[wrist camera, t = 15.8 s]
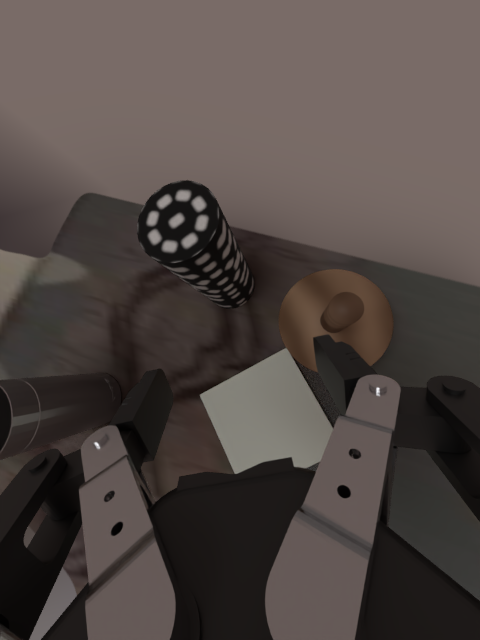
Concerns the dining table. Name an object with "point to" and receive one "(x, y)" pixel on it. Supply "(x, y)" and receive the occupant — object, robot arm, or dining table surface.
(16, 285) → the dining table surface
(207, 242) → the spotted tube
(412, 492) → the dining table surface
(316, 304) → the walnut lid
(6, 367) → the dining table surface
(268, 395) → the rubber mat
